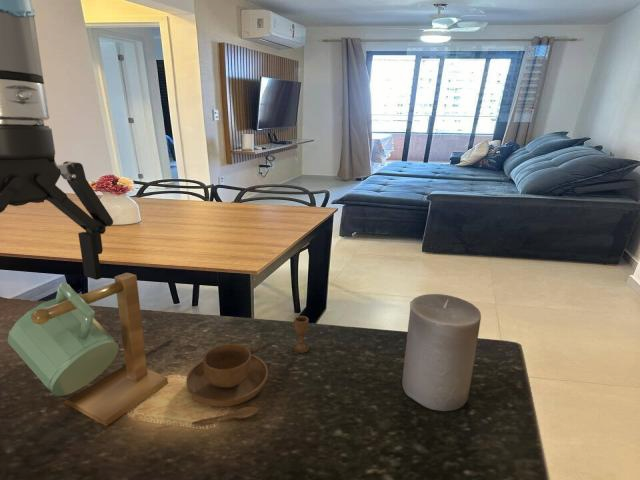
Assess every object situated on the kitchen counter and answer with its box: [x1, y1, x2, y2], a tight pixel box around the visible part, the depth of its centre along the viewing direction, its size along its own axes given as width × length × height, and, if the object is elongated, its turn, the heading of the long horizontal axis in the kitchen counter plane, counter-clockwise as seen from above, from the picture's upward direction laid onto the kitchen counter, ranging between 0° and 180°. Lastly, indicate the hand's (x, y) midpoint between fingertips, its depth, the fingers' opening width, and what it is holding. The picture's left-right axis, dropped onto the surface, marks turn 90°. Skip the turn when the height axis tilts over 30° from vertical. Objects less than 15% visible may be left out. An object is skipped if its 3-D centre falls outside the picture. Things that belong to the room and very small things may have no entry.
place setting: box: [185, 315, 310, 426], centre depth 58 cm, size 18×20×6 cm
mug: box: [7, 282, 120, 397], centre depth 48 cm, size 13×9×9 cm
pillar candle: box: [401, 293, 482, 412], centre depth 56 cm, size 10×10×15 cm
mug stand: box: [31, 272, 169, 427], centre depth 52 cm, size 12×14×17 cm
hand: (42, 294), depth 49 cm, fingers open, 13 cm apart
